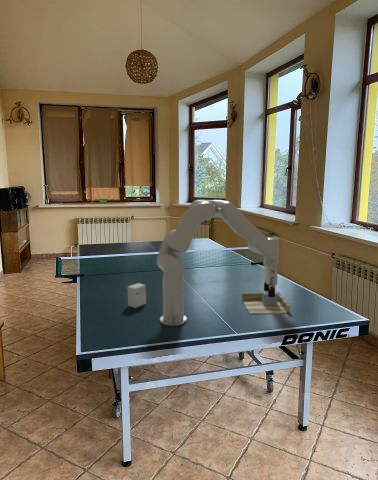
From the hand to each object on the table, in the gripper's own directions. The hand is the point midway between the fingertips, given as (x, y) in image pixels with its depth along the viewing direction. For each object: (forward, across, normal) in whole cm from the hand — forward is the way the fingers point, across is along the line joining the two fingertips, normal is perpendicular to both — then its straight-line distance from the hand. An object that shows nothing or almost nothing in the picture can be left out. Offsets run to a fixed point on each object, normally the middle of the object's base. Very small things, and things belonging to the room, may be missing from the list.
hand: (269, 293), depth 194 cm
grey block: (+5, 0, 0) cm, 5 cm away
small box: (+7, +4, +68) cm, 69 cm away
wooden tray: (+6, -2, +2) cm, 7 cm away
